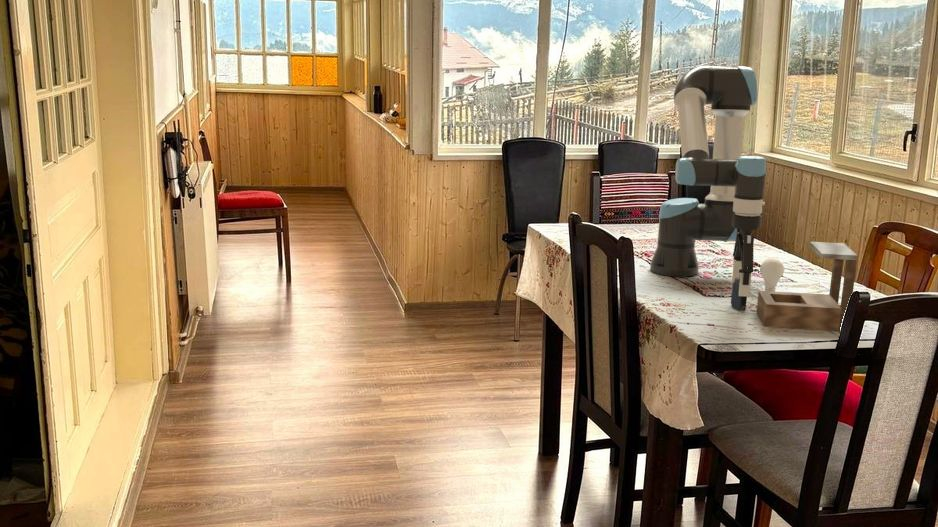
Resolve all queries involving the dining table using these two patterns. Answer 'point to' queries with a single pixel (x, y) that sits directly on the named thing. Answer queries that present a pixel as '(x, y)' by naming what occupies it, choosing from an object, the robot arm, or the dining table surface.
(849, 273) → the socket station
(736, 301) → the vaping device
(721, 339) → the dining table surface
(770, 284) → the light bulb
